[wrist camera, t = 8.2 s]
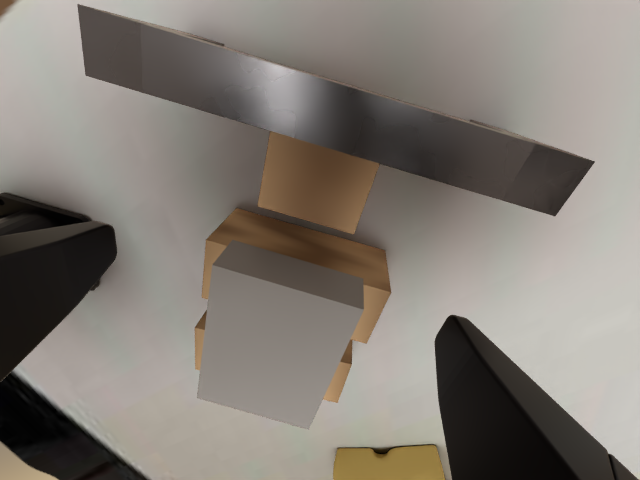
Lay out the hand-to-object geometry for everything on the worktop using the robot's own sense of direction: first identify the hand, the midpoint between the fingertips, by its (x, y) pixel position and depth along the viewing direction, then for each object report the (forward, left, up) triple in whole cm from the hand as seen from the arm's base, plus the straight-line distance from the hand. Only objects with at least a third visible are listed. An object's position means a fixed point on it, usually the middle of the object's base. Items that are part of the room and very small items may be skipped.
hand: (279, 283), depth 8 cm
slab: (0, -9, -7) cm, 11 cm away
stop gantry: (0, +4, -11) cm, 12 cm away
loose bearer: (0, 0, -11) cm, 11 cm away
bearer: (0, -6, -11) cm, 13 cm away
